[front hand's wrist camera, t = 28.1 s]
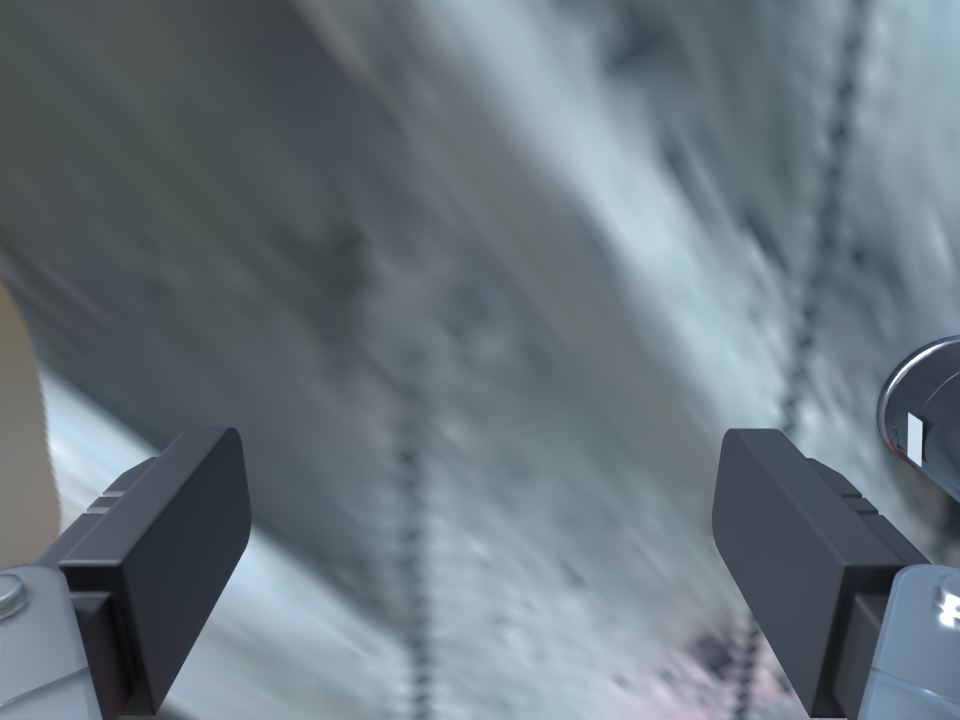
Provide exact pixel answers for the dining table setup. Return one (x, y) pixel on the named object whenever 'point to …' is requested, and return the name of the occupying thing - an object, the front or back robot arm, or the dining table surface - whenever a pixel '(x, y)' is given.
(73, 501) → the dining table surface
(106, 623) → the front robot arm
